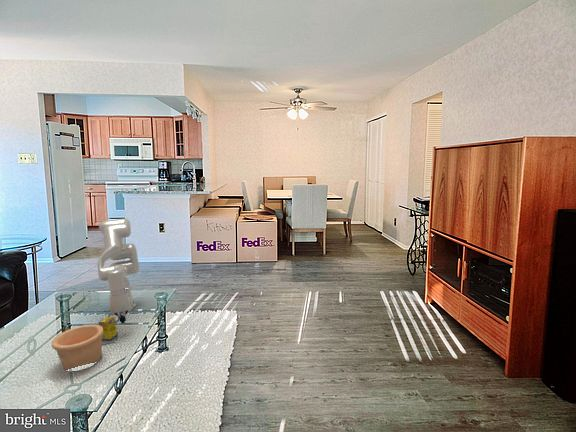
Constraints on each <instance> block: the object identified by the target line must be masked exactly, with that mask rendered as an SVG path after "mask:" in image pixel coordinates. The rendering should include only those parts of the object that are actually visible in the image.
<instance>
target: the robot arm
mask: <svg viewBox="0 0 576 432" xmlns="http://www.w3.org/2000/svg"><path fill="white" fill-rule="evenodd" d="M98 228H99V230H100V232H101V234H102V235H103V244H104V251H103V252H102V254H100V256H99V258H98V261H97V273H98V278H99V280H100V281H102V282H107V281H108V288H109V292H110V294H109V297H108V299H109V309H110V315H111V316H116V317H118V318H119V323H121V325H123V324H125V323H126V321H127V318H126V315H127V314H128V313H130V312H132V311H133V309H135V308H136V306H137V305H136V303H135V302H133V297H132V296H133V295H132V291H131V284H130V280H129V279H128V278H127V277H126V276H129V275H135V274H138V273H139V272H140V264H139V258H138V253H137V247H136V245H135V244H134V243H131V242H129V243H123V238H128V237H130V236H131V234H132V229H131V222H130V219H128V218H117V219H109V220H105V221H101V222H100V223H98ZM109 259H110V260H111V261H116V262H113V263H111V264H110V265H109V266H104V265H105V263H106V261H108V260H109ZM134 307H135V308H134Z"/></svg>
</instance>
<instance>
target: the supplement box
mask: <svg viewBox="0 0 576 432" xmlns="http://www.w3.org/2000/svg"><path fill="white" fill-rule="evenodd" d="M98 325H100V326H101V327H103V332H104V333H103V335H102V336H101V339H102V340H109V341H111V340H112V339H113V338H115V337H116V336H117V332H118V330H117V329H118V328H117V323H116V318H115V317H113V316H105V317H103V319H100V321H98Z"/></svg>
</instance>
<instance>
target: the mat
mask: <svg viewBox="0 0 576 432" xmlns="http://www.w3.org/2000/svg"><path fill="white" fill-rule="evenodd" d="M117 336H119V331H117ZM117 336H116V337H115V338H113V339H112V340H111V341H109V340H102V346H106V345H109V344H114V342H115V341H116V340H117V341H118V337H117ZM115 343H116V342H115Z"/></svg>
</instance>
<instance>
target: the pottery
mask: <svg viewBox="0 0 576 432" xmlns="http://www.w3.org/2000/svg"><path fill="white" fill-rule="evenodd" d="M103 333H104V332H103V327H101V326H100V325H99V324H95V323H94V324H84V325H79V326H76V327H72V328H69V329H68V330H65V331H63V332H60V333H59V334H58V335H57V336H55V337H54V338H53V340H52V341H51V347H52V349H54V350H55V351H56V353H57V355H58V359H59V360H60V363H61V366H62V368H63V370H64V369H65V370H68V369H71V368H75V367H78V366H82V365H86V364H90V363H95V362H98V361H99V360H100V359H101V360H102V358H103V356H102V355H103V354H102V352H103V351H102V347H103V345H102V339H101V336H102V335H103ZM101 357H102V358H101ZM101 360H100V361H101ZM100 361H99V362H100ZM99 362H98V363H99ZM65 370H64V371H65Z"/></svg>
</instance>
